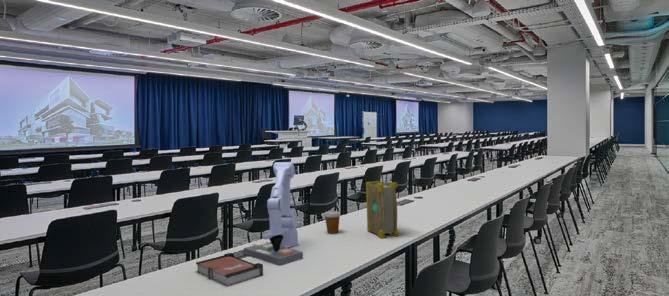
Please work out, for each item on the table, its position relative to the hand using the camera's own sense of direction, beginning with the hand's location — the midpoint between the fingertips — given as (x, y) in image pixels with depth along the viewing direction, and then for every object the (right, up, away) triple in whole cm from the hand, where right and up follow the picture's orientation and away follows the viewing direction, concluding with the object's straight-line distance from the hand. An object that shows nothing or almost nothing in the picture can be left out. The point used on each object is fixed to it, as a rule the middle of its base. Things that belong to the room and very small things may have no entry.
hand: (276, 251), depth 198 cm
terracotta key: (+5, -1, -4) cm, 6 cm away
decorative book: (+55, 0, +39) cm, 67 cm away
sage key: (-5, -1, +5) cm, 6 cm away
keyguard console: (-2, -3, +2) cm, 4 cm away
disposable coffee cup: (+27, -1, +45) cm, 53 cm away
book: (-18, -5, -21) cm, 28 cm away
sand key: (-9, -1, +9) cm, 13 cm away
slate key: (0, -2, 0) cm, 2 cm away
